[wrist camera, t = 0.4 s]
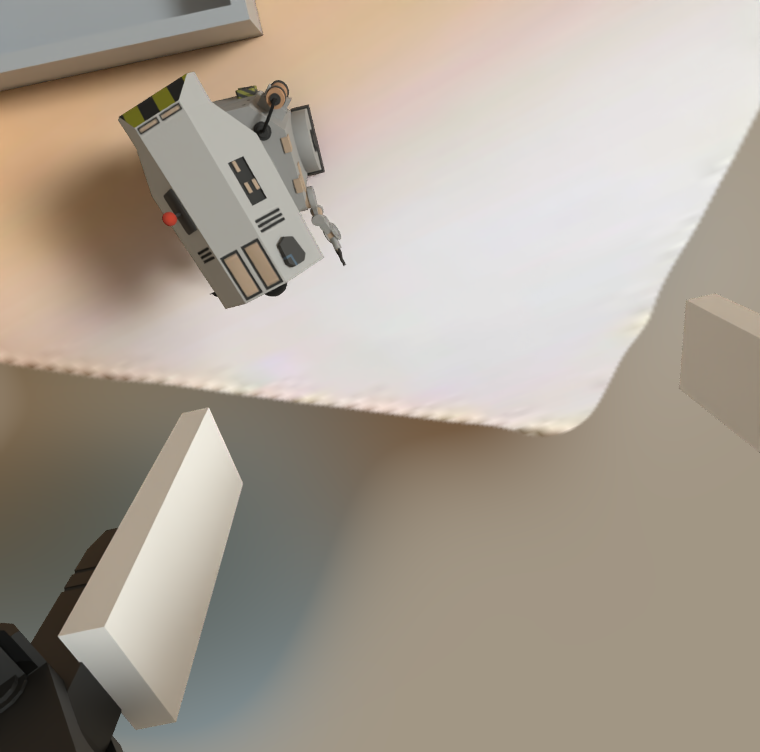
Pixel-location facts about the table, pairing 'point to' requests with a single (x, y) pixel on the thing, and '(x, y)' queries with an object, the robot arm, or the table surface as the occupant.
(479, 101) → the table surface
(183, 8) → the bin
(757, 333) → the robot arm
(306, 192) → the figurine
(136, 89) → the table surface
